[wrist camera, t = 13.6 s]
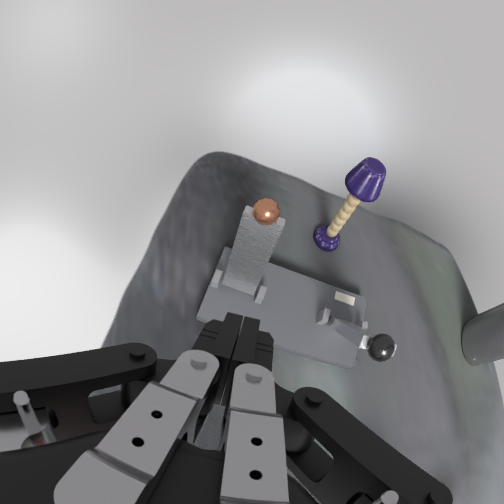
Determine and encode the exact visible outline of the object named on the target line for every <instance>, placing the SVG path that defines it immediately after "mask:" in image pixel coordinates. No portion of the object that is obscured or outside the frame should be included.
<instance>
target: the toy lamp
mask: <svg viewBox="0 0 504 504" xmlns="http://www.w3.org/2000/svg"><path fill="white" fill-rule="evenodd" d="M385 176H386V168H385V167H384V165H383V164H382V163H381V162H380V161H379V160H377V159H375V158H371V157H368V158H366V159H364V160H363V161H361V162H360V163H359V164H358V165H357V166H356V167H355V168H353V169H352V170H351V171H350V172H349V173H348V174H347V175H346V178H345V185H346V187H347V189H348V191H349V192H350V194H349V195H348V197H347V200H345V201H344V203H343V205H342V207H341V208H340V209H339V211H338V213H337V214H336V215H335V217H334V219H333V220H332V222H331V224H330V225H323V226H320V227H319V228H317V229H316V230H315V232H314V241H315V243H316V245H317V246H318V247H319V248H321V249H322V250H324V251H332V250H334V249H336V248H337V247H338V245H339V242H340V236H339V233H338V231H339V230H341V228H342V226H343V225H344V224H345V223H346V221H347V219H348V218H349V217H350V215H351V213H352V212H353V211H354V210H355V208H356V206H357V205H358V204H359V203H360V201H363V202H373V201H375V200H376V199H377V198H378V197H379V195H380V192H381V189H382V186H383V183H384V179H385Z"/></svg>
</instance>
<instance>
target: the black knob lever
mask: <svg viewBox="0 0 504 504" xmlns="http://www.w3.org/2000/svg"><path fill="white" fill-rule="evenodd" d="M327 325H328V326H329V327H331V328H332V329H334V330H335V331H336V332H338V333H339V334H341V335H342V336H344V337H345V338H346V339H348V340H349V341H351V342H352V343H353V344H355V345H356V346H358V347H359V348H363V349H366V350H368V354H369V356H370V357H371V358H372V359H373V360H375V361H378V362H382V361H386V360H388V359H389V358H390V357H391V356H392V357H393V355H394V352H395V350H396V347H397V345H396V344H394V341H393V339H392V338H391V337H390V336H389V335H387V334H378V335H376V334H375V333H373V332H371V331H369V330H367V329H365V328H363V327H361V326H359V325H357V324H354V323H351V322H348V321H345V320H342V319H339V318H336V317H333V316H329V320H328V322H327Z"/></svg>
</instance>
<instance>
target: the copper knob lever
mask: <svg viewBox="0 0 504 504" xmlns="http://www.w3.org/2000/svg"><path fill="white" fill-rule="evenodd" d="M279 216H280V207H279V205H278V204H277V202H276V201H274V200H273V199H270V198H262V199H260V200H258V201H257V202H256V203H255V204H254V206H253V207H250V206H247V205H246V207H245V209H244V212H243V215H242V218H241V221H240V225H239V228H238V231H237V235H236V238H235V241H234V245H233V248H232V251H231V255H230V258H229V262H228V265H227V268H226V272H225V275H224V279H223V282H222V285H225V286H228V287H230V288H233V289H236V290H239V291H241V292H244V293H247V294H250V295H252V296H253V295H254V293H255V291H256V289H257V286H258V284H259V282H260V280H261V277H262V275H263V273H264V271H265V268H266V266H267V264H268V262H269V259H270V257H271V255H272V252H273V250H274V248H275V246H276V243H277V241H278V239H279V236H280V234H281V232H282V230H283V227H284V224H285V219H283V218H280V217H279Z"/></svg>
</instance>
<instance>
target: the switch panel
mask: <svg viewBox="0 0 504 504" xmlns="http://www.w3.org/2000/svg"><path fill="white" fill-rule="evenodd" d="M231 251H232V249H231V248H228V247H226V246H225V248H224V250H223V253H222V255H221V258H220V260H219V262H218V265H217V267H216V270H215V272H214V274H213V277H212V279H211V282H210V284H209V287H208V289H207V292H206V294H205V296H204V299H203V301H202V304H201V306H200V309H199V311H198V314H197V320H199V321H202V322H204V323H207V322H209V321H211V320H213V319H215V320H219V321H224V319H225V317H226V314H227V312H231V313H235V314H239V315H243V320H244V317H245V316H247V317H251V318H255V319H259V320H260V326H259V330H260V331H264V332H268V333H270V334H271V336H272V338H273V339H274V344H273V347H275V348H278V349H281V350H284V351H288V352H291V353H294V354H297V355H301V356H304V357H307V358H311V359H314V360H318V361H321V362H325V363H329V364H332V365H336V366H340V367H344V368H353V367H354V365H355V360H356V356H357V351H358V346H356V345H355V344H353V343H352V342H351V341H349V340H348V339H346V338H345V337H344V336H342V335H341V334H339V333H338V332H336V331H335V330H334V329H332V328H331V327H329V326H328V325H327V322H328V320H329V316H333V317H336V318H339V319H342V320H345V321H348V322H351V323H354V324H357V325H359V326H361V327H363V328H365V329H367V326H368V322H365V321H364V315H365V310H366V304H367V298H365V297H362V296H360V295H357V294H354V293H351V292H349V291H346V290H343V289H340V288H338V287H335V286H332V285H329V284H327V283H324V282H321V281H318V280H316V279H313V278H310V277H307V276H305V275H302V274H299V273H296V272H294V271H291V270H288V269H285V268H283V267H280V266H277V265H275V264H272V263H269V262H268V264H267V266H266V268H265V271H264V273H263V275H262V277H261V280H260V282H259V284H258V286H257V289H256V291H255V293H254V295H253V296H252V295H250V294H247V293H244V292H241V291H239V290H236V289H233V288H230V287H228V286H225V285H222V282H223V279H224V275H225V272H226V268H227V265H228V262H229V258H230V255H231ZM243 320H242V324H243ZM242 324H241V327H242ZM240 330H241V329H240ZM239 334H240V333H239Z"/></svg>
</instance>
